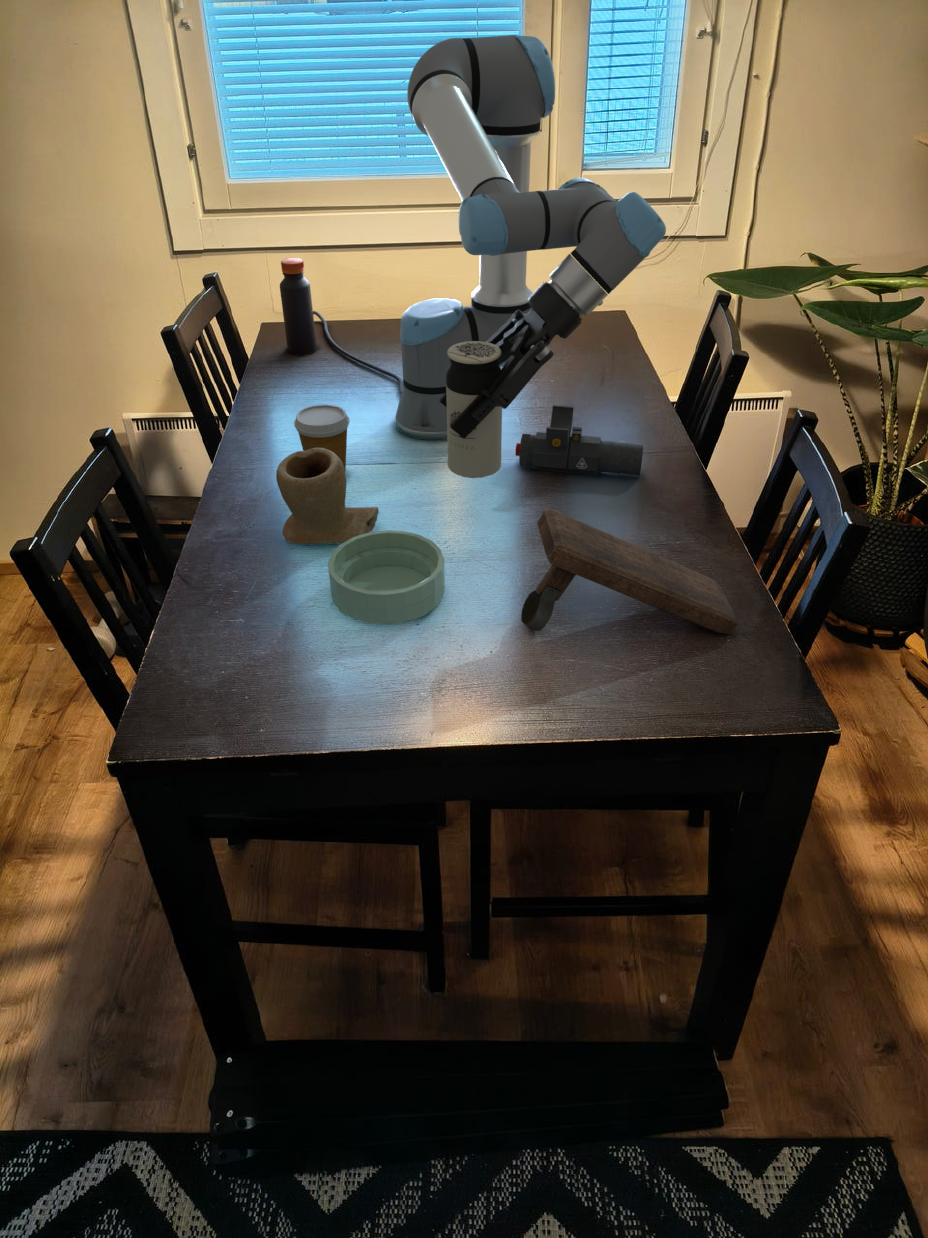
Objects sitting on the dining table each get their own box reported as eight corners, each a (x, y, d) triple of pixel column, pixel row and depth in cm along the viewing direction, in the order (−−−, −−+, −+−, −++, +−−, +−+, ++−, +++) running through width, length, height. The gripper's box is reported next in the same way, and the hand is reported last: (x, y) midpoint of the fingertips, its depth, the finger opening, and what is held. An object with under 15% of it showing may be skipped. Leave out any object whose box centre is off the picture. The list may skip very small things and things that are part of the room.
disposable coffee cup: (364, 470, 166) (359, 408, 159) (336, 494, 159) (330, 430, 152) (319, 460, 170) (312, 399, 162) (290, 483, 163) (282, 420, 155)
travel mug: (474, 449, 142) (474, 335, 131) (512, 466, 137) (515, 350, 126) (437, 467, 137) (433, 350, 126) (474, 485, 133) (474, 366, 122)
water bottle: (314, 354, 211) (305, 265, 199) (285, 354, 211) (273, 265, 199) (318, 343, 216) (309, 256, 204) (290, 343, 216) (279, 256, 204)
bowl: (314, 583, 138) (310, 550, 134) (411, 552, 145) (409, 519, 141) (361, 642, 127) (358, 607, 123) (465, 605, 133) (464, 571, 130)
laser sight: (638, 488, 160) (645, 436, 154) (511, 477, 164) (513, 425, 158) (640, 462, 168) (647, 411, 162) (519, 452, 171) (521, 402, 165)
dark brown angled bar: (659, 654, 142) (490, 588, 131) (720, 579, 134) (545, 503, 124) (677, 699, 133) (498, 632, 123) (742, 622, 126) (558, 544, 115)
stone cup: (276, 557, 144) (263, 472, 135) (290, 517, 153) (278, 436, 144) (372, 558, 143) (365, 473, 134) (380, 518, 153) (374, 436, 144)
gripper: (606, 344, 118) (484, 467, 126) (562, 292, 134) (456, 404, 142) (569, 306, 114) (445, 435, 122) (528, 257, 130) (421, 374, 138)
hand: (451, 418), depth 132 cm, fingers closed on travel mug, 8 cm apart
